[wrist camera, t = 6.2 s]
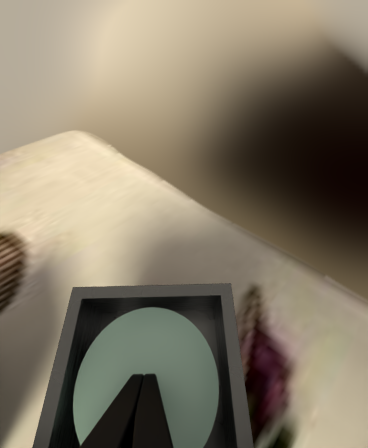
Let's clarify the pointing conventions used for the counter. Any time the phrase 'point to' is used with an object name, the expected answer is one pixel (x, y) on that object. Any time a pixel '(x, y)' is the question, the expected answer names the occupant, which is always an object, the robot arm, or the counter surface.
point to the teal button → (151, 363)
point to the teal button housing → (129, 301)
